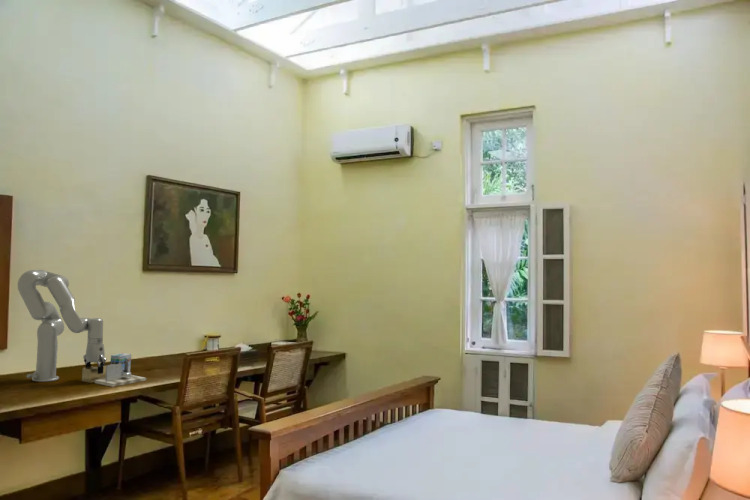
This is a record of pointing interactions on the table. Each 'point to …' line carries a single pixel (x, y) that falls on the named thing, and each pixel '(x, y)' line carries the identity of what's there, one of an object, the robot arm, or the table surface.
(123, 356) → the light bulb box
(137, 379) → the white mounting board
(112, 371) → the steel hinge leaf
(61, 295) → the robot arm
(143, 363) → the table surface
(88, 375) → the tan piece
